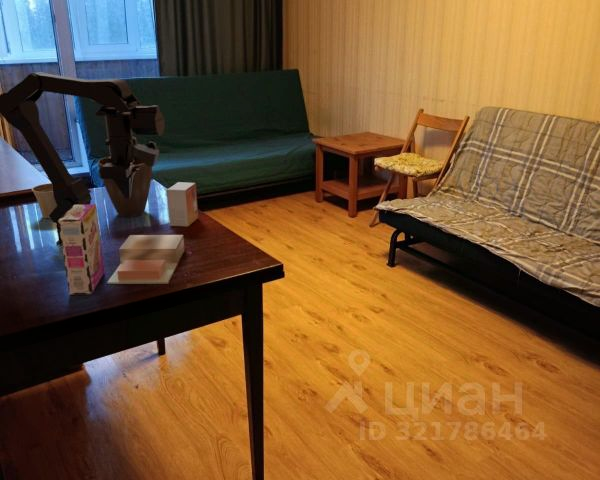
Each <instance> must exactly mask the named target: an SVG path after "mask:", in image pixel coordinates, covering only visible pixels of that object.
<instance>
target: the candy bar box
mask: <svg viewBox="0 0 600 480" xmlns="http://www.w3.org/2000/svg"><path fill="white" fill-rule="evenodd" d="M97 211H98V210H97V204H95V203H90V204H81V205H74V206H73V207H72V208H71V209H70V210H69V211H67V212H66V213H65V214H64V215H63V216H62V217H61V218H60V219H59V220H58V224H59V230H60V237H61V242H62V244H61V248H62V249H61V250H62V254H63V260H64V261H63V262H64V266H65V274H66V282H67V287H68V294H69V295H71V296H72V295H73V296H77V295H78V296H81V295H92V294H94V291H95V290H96V288H97V286H98V284H99V282H100V281H101V279H103V278H102V277H103V276H104V274H105V266H104V258H103V250H102V242H101V235H100V233H101V232H100V225H99V219H98V212H97Z"/></svg>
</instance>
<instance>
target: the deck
mask: <svg viewBox="0 0 600 480" xmlns="http://www.w3.org/2000/svg"><path fill="white" fill-rule="evenodd" d="M118 252H119V259H120V261H119V262H120V264H123V262H124V261H125V260H165V263H177V265H178V264H179V262H180V260H181V258H182V255H183V254H184V253H185V241H184V234H130V235H129V236H128V237H127V238H126V239H125V241H124V242H123V244H121V246H120V247H119V249H118Z"/></svg>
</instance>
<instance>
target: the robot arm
mask: <svg viewBox="0 0 600 480" xmlns="http://www.w3.org/2000/svg"><path fill="white" fill-rule="evenodd" d="M44 93H53V94H60V95H65V96H66V95H67V96H73V97H79V98H84V99H88V100H90V101H92V102H94V103H96V104H100V105H101V106H100V108H99V110H97V111H96V112H95V116H96V117H104V119H105V125H106V126H105V127H106V134H107V139H106V140H105V146H108V148H109V149H108V150H109V155H110V156H108V157H109V158H108V162H114V163H106V164H105V165H103V166H102V167H101V168H99V169H98V174H99V175H98V176H99V179H101V180H103V179H113V181H114V182H115V183H116V185H117V186H118V188H119V189H120V191H121V192H122V194H123V195H124V197H125V198H130V196H131V190H132V183H133V177H134V174H135V173H136V172H137V171H138V170H139V169H140V167H134V164H132V163H133V162H134V161H138V162H141V163H144V164H146V165H147V166H152V167H154V166H155V165H156V164H157V161H158V157H159V155H160V149H158V146H157V143H156V142H154V141H149V142H148V143H147V144H146V145H145V144H144V143H143V144H141V143H138V139H137V138H136V136H133V133H135V135H137V136H162V135H163V134H164V132H165V126H166V125H165V124H166V123H165V118H164V115H163V113H162V112H161V110H160V106H159V105H155V104H154V105H149V106H148V105H142V103H141V102H140V101H139V99H138V98H137V97H136V96H135V94H134V93H133V92H132V89H131V87H130V85H129V84H128V82H127V81H126V80H125V79H121V78H110V79H109V78H108V79H94V80H93V79H86V78H79V77H78V78H77V77H71V76H65V75H64V76H63V75H59V74H51V73H46V72H44V71H39V72H38V71H37V72H31V73H29V74H27V76H26V77H24V79H23V80H22V81H20V82H18V83H17V84H15V86H13V87H12V88H10V89H9V90H8V91H7V92H3V93H0V115H1V116H2V117H3V119H4V120H5V121H6V122H7V123H8V124H9V125H11V126H12V127H13V128H15V129H16V130H17V131H19V132H20V134H21V135H22V137H23V139H24V140H25V142H26V144H27V145H28V148H30V150H31V152H32V153H33V155H34V157H35V159H36V160H37V161H38V163H39V164H40V167H41V168H42V171H43V172H44V173H45V175H46V176H47V178H48V180H49V182H50V183H52V186H53V197H54V200H55V202H56V204H57V207H56V208H55V209H54V210H53V211H52V212H51V213H50V215H49V217H50V218H51V219H50V218H49V219H50V220H51V222H52V223H53V224H55V225H56V226H55V227H56V232H57V239H58V240H57V241H56V242H55V243H56V245H62V242H61V237H60V230H59V224H58V220H59V219H60V218H61V217H62V216H63V215H64V214H65V213H66V212H67V211H69V210H70V209H71V208H72V207H73V206H74V205H81V204H92V203H91V202H92V196H91V193H92V190H90V188H88V186H87V184H86V182H85V180H84V178H79V179H76V178H75V177H73V176H72V174H71V173H70V172H69V171H68V170H69V169H68V168H67V167H66V165H65V163H64V162H63V160H62V158H61V157H60V154H59V153H58V152H57V150H56V148H55V147H54V145H53V143H52V142H51V140H50V138H49V137H48V136H49V135H47V133H46V131H45V130H44V128H43V126H42V125H41V123H40V113H39V111H40V110H39V109H38V106H37V102H38V101H39V100H40V99H41V98H42V96H43V94H44Z"/></svg>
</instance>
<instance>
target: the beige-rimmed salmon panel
mask: <svg viewBox="0 0 600 480" xmlns="http://www.w3.org/2000/svg"><path fill="white" fill-rule="evenodd" d="M165 268H166V265H165V260H125V261H124V262H123V264H122V265H121V266H120V268H119V269H118V271H117V274H118V280H126V279H160V278H161V276H162V274H163V272H164V270H165Z"/></svg>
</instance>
